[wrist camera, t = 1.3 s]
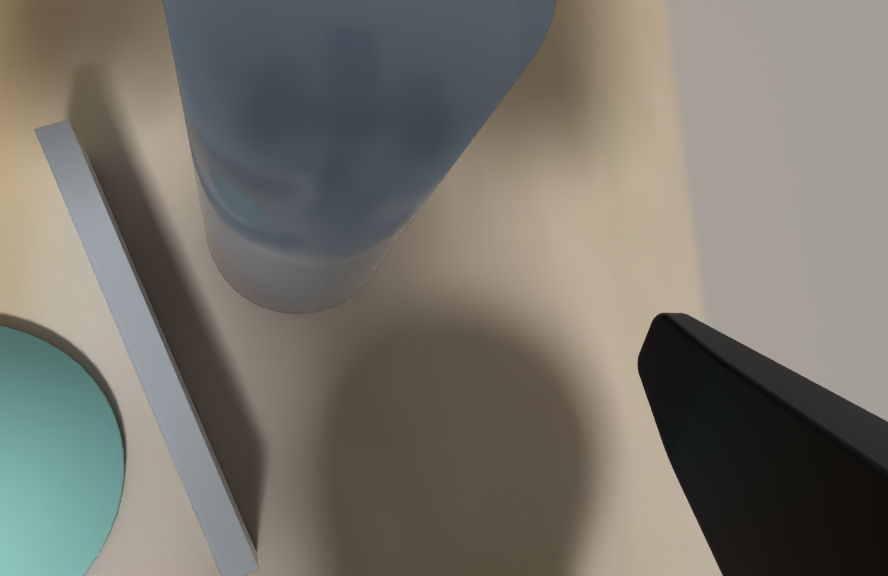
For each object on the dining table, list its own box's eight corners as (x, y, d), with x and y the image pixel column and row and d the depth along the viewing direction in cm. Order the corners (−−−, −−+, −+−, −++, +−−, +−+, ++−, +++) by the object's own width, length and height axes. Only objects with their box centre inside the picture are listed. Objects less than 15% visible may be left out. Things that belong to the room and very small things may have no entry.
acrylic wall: (257, 553, 19) (258, 568, 17) (228, 568, 19) (225, 586, 16) (88, 157, 20) (67, 119, 18) (59, 167, 20) (34, 129, 17)
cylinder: (409, 275, 22) (620, 58, 10) (248, 341, 20) (254, 182, 8) (341, 126, 22) (459, -263, 10) (178, 179, 20) (79, -212, 8)
